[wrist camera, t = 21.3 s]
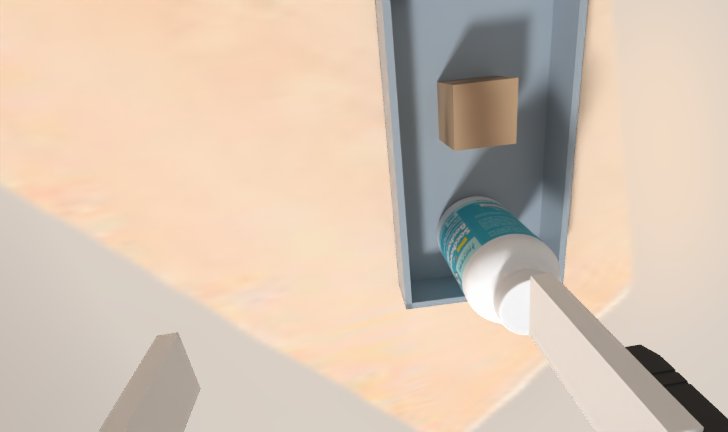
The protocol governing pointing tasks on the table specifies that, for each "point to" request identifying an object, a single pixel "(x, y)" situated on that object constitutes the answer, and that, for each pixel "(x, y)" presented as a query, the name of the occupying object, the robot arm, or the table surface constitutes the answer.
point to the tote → (489, 164)
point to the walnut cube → (478, 112)
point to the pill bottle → (494, 259)
